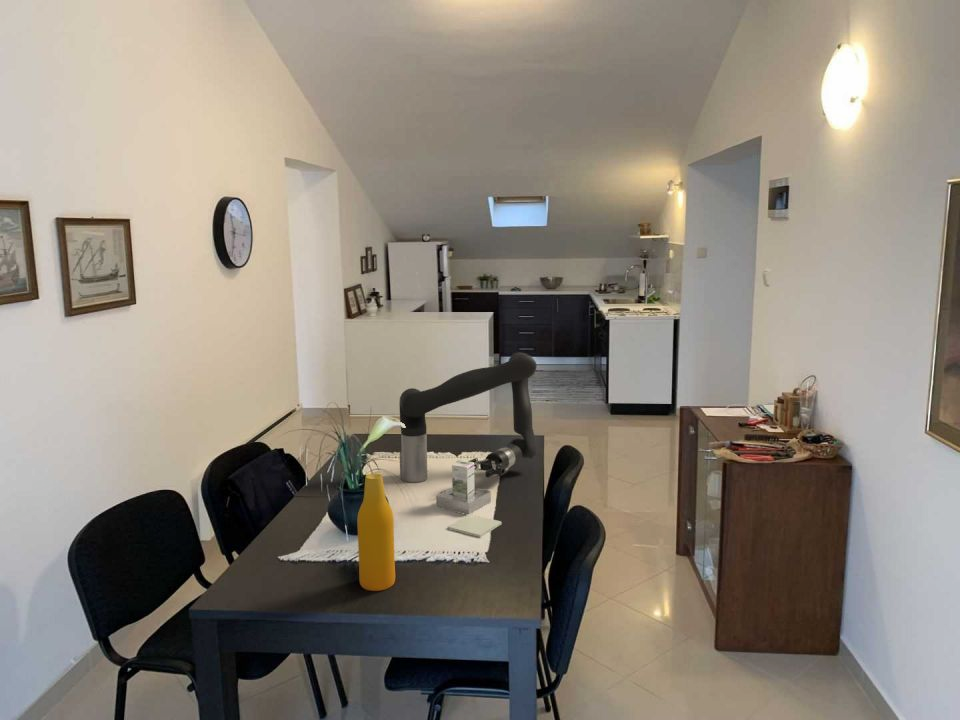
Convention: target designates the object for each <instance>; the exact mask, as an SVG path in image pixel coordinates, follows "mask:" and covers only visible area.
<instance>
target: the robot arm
mask: <svg viewBox="0 0 960 720" xmlns="http://www.w3.org/2000/svg"><path fill="white" fill-rule="evenodd" d="M537 366H538V365H537V362H536V360H535V359H534V358H533V357H532V356H531V355H529V354H528V353H525V352H518V351H517V352H515V353H513V354H512V355H511V356H510V357H509V358H508V360H507V361H506V362H503V363H501V364H498V365H493V366H488V367H487V366H486V367H480V368H479V367H478V368H475V369H471V370H467V371H465V372H461V373H459V374H457V375H454V376H452V377H451V378H449V379H447V380H446V381H445V382H442V383H441V384H439V385H437V386H435V387H433V388H429V389H426V390H422V391H421V390H419V389H417V388H412V387H411V388H407V389H405V390H403V392H402V393H401V394H400V396H399V402H398V403H399V423H400V422H402V423H404V424H405V426H406V428H402V427H401V426H400V438H401V441H400V442H401V452H399V479H401V480H402V481H404V482H406V483H421V482H424V481H426V480H427V479H428V444H427V443H428V441H427V440H428V438H427V434H428V433H427V421H426V414H427V413H429V412H432V411H434V410H436V409H438V408H441V407H443V406H446V405H450V404H453V403H456V402H460V401H462V400H467V399H469V398H472V397H475V396H477V395H481V394H482V393H485V392H487V391H490V390H494V389H495V388H498V387H500V386H503V385H506V384H511V391H512V393H511V394H512V411H513V412H512V417H513V419H512V421H513V431H514V432H515V433H516V434H518V435H521V436H522V438H514V439H512V440H511V441H509V443H508V444H507V446H504V447H502V448H498V449H497V450H494V451H493V452H491V453H488V454H487V455H486V456H485V458H484V459H482V460H479V459H478V458H477V457H476V458H472V459H470V460H468V461H467V462H474V471H476V472H485V479H488V478H491V477H494V476H499V477H502V476H503V475H505V474H507V473H508V472H509V469H510V468H511V467H512V466H514V465H515V464H517V463H519V462H520V461H521V460H522V459H527V460H533V459H535V458H536V456H537V454H538V450H539V447H538V443H537V442H538V441H537V439H536V435H535V432H534V428H533V411H532V409H533V408H532V402H531V399H530V398H531V397H530V393H529V392H530V391H529V378H530V377H532V376H533V375H534V374H535V372H536V371H537ZM479 467H480V468H479Z"/></svg>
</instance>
